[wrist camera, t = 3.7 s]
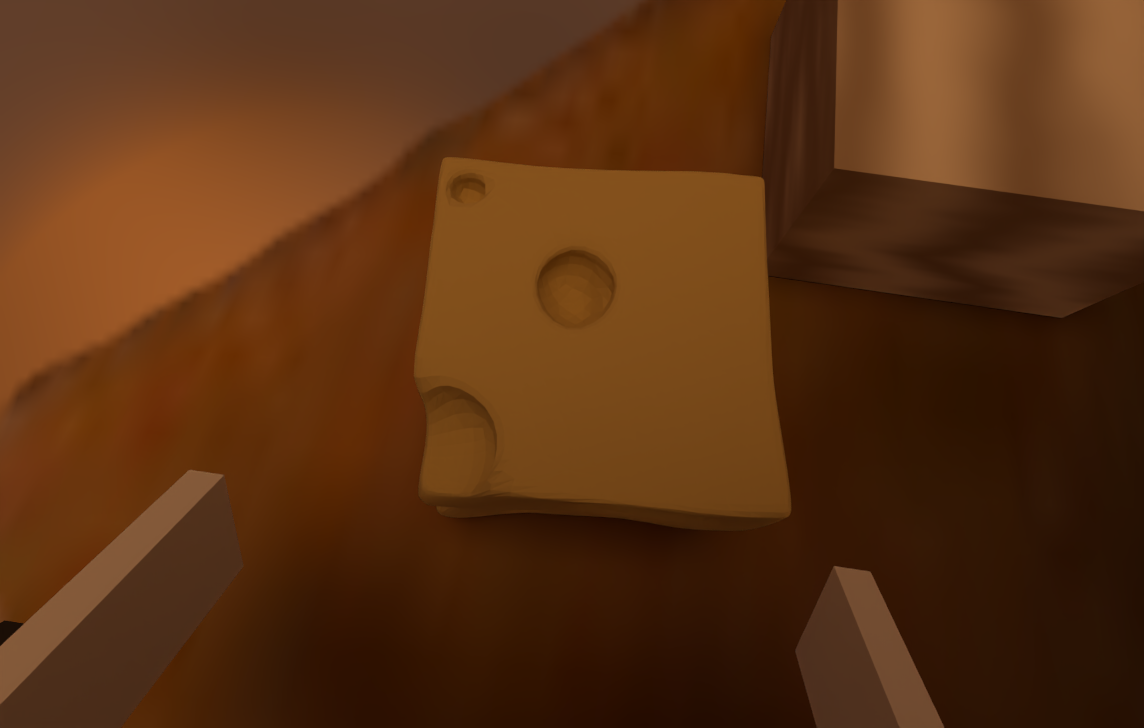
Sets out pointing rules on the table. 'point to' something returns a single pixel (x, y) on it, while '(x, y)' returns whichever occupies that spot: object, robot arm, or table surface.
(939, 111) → the chevron patterned block
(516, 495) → the cheese
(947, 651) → the table surface
